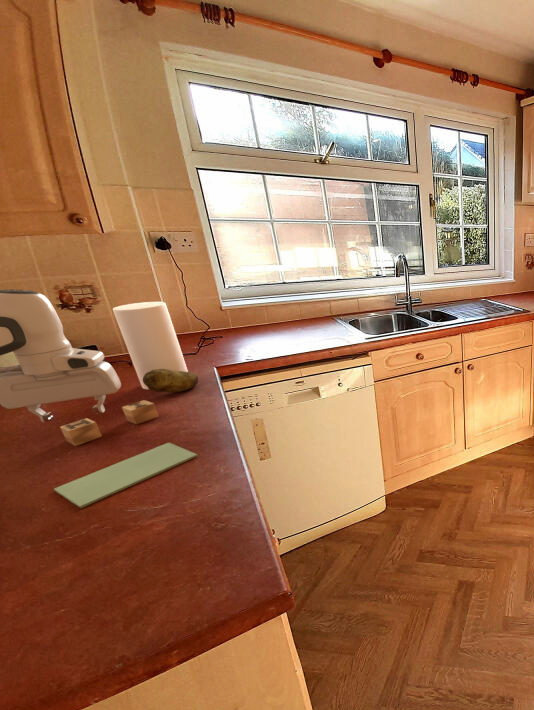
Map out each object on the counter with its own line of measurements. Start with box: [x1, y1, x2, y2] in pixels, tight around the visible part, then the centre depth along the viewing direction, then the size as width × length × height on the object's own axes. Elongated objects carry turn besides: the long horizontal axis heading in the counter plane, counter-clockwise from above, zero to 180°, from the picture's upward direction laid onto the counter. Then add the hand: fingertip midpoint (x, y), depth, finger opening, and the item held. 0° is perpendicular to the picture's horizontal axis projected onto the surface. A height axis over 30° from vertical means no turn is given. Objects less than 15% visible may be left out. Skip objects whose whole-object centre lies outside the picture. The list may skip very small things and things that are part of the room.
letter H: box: [59, 417, 103, 447], centre depth 102 cm, size 5×5×4 cm
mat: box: [53, 442, 198, 509], centre depth 88 cm, size 20×12×1 cm, turn 152°
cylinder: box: [112, 301, 189, 391], centre depth 132 cm, size 12×12×25 cm
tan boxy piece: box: [121, 399, 159, 425], centre depth 111 cm, size 5×5×4 cm
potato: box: [143, 369, 200, 394], centre depth 128 cm, size 8×13×8 cm, turn 130°
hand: (74, 416), depth 100 cm, fingers open, 8 cm apart
